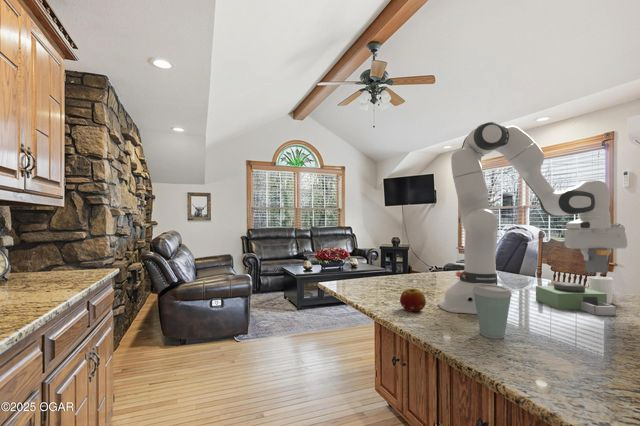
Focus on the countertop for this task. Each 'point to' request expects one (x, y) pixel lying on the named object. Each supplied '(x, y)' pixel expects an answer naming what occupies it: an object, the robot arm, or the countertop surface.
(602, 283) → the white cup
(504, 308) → the disposable coffee cup
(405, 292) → the fruit
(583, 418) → the countertop surface
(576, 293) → the green and grey base
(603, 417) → the countertop surface
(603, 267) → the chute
